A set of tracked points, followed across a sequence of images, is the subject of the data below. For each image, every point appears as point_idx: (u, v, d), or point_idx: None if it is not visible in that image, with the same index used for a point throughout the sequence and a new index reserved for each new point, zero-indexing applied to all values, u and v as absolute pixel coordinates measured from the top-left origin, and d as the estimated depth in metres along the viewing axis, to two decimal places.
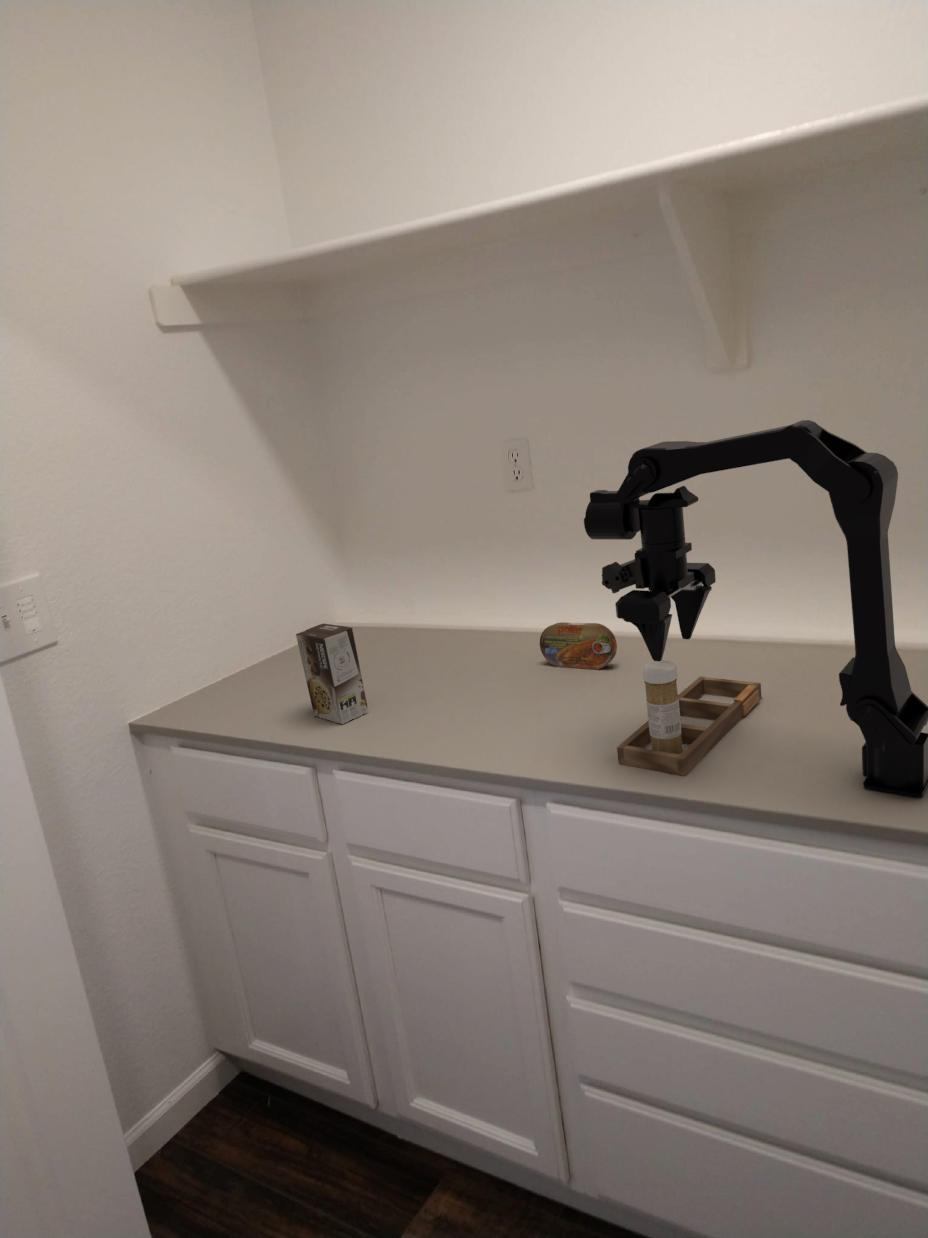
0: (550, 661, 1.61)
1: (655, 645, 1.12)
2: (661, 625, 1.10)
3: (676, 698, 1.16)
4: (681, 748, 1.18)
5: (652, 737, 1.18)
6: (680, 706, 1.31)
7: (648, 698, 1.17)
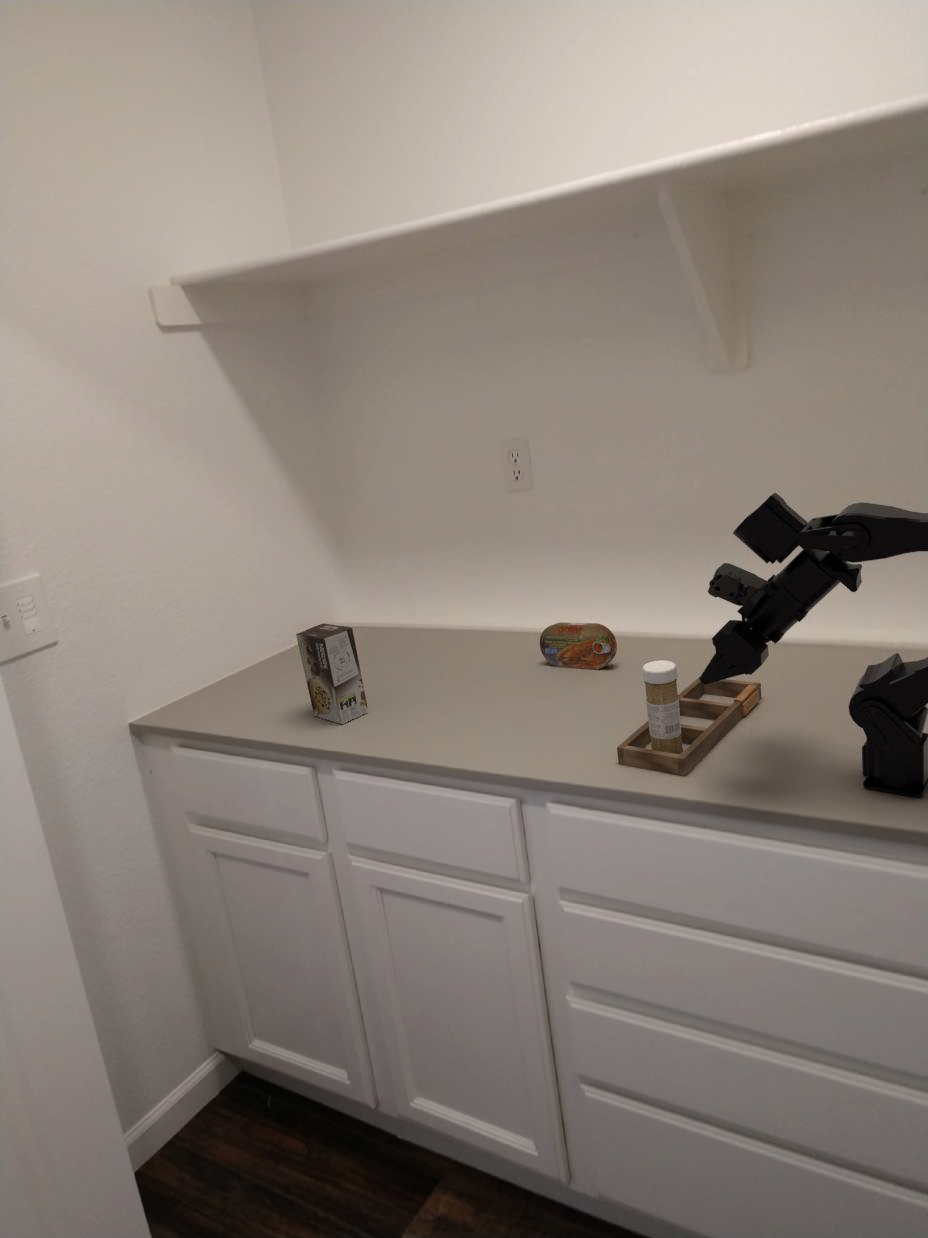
0: (550, 661, 1.61)
1: (715, 674, 1.06)
2: None
3: (676, 698, 1.16)
4: (681, 748, 1.18)
5: (652, 737, 1.18)
6: (680, 706, 1.31)
7: (648, 698, 1.17)
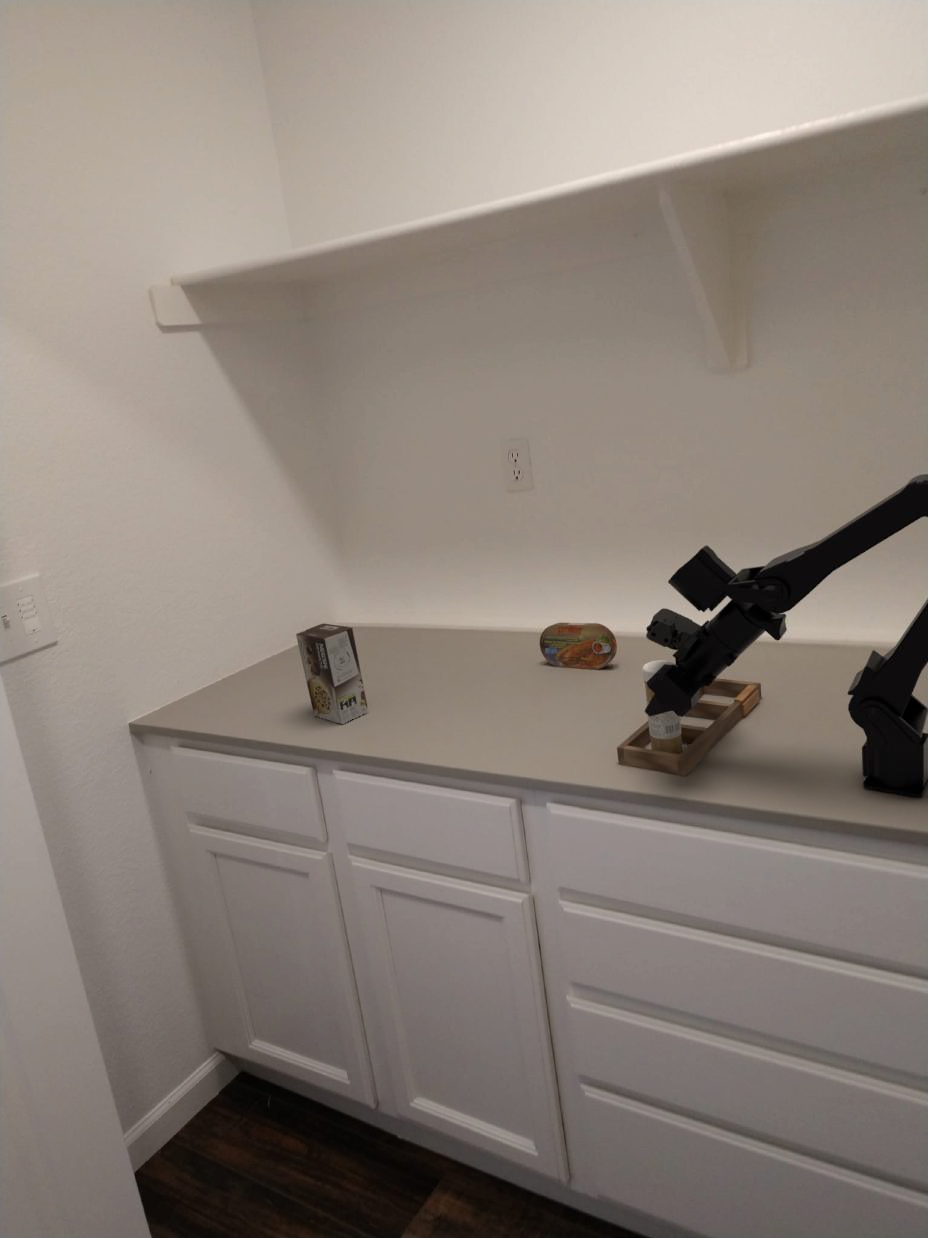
0: (550, 661, 1.61)
1: (658, 707, 1.14)
2: None
3: None
4: (681, 748, 1.18)
5: (652, 737, 1.18)
6: None
7: (648, 698, 1.17)
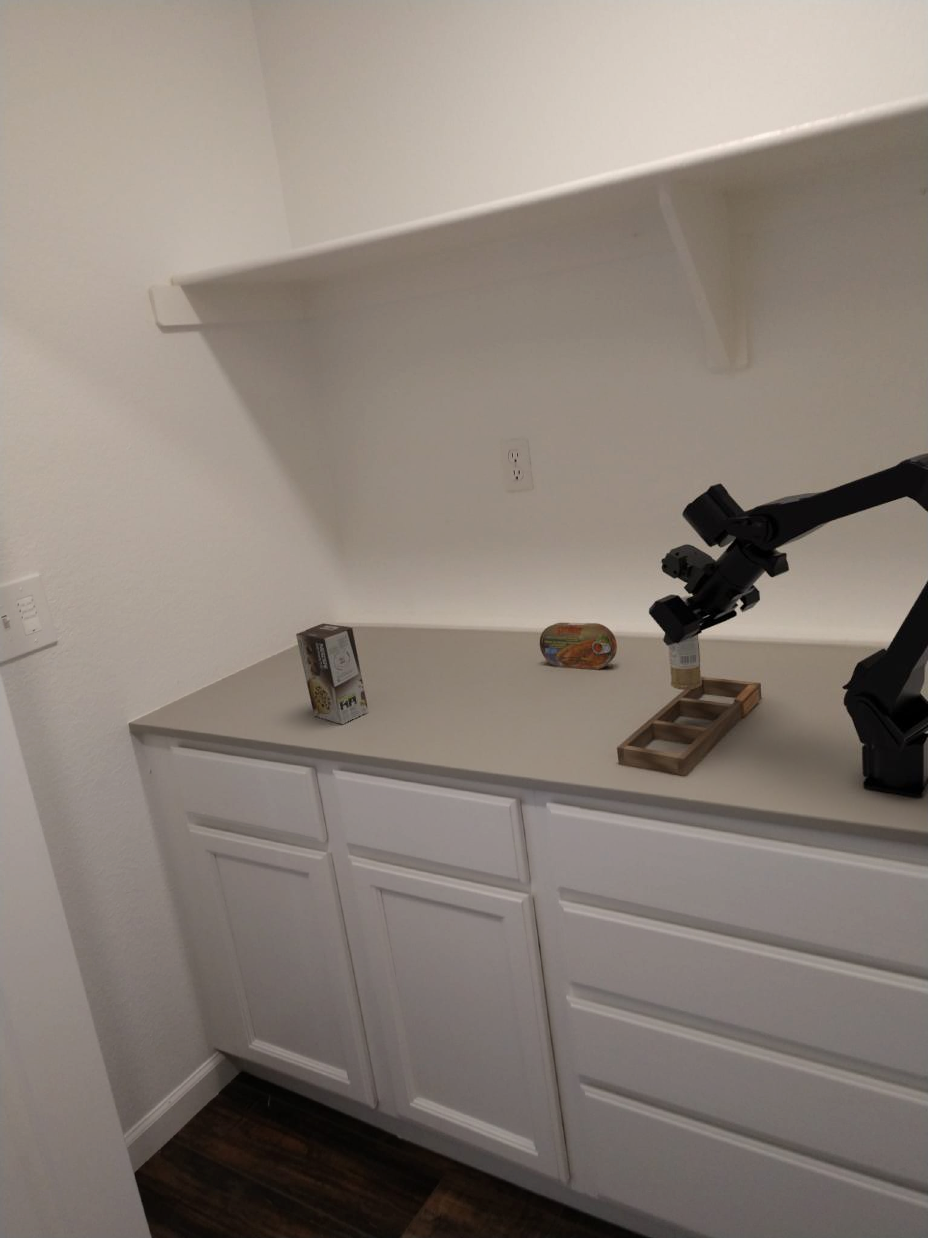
0: (550, 661, 1.61)
1: None
2: None
3: None
4: (698, 680, 1.24)
5: (670, 666, 1.25)
6: (680, 706, 1.31)
7: None
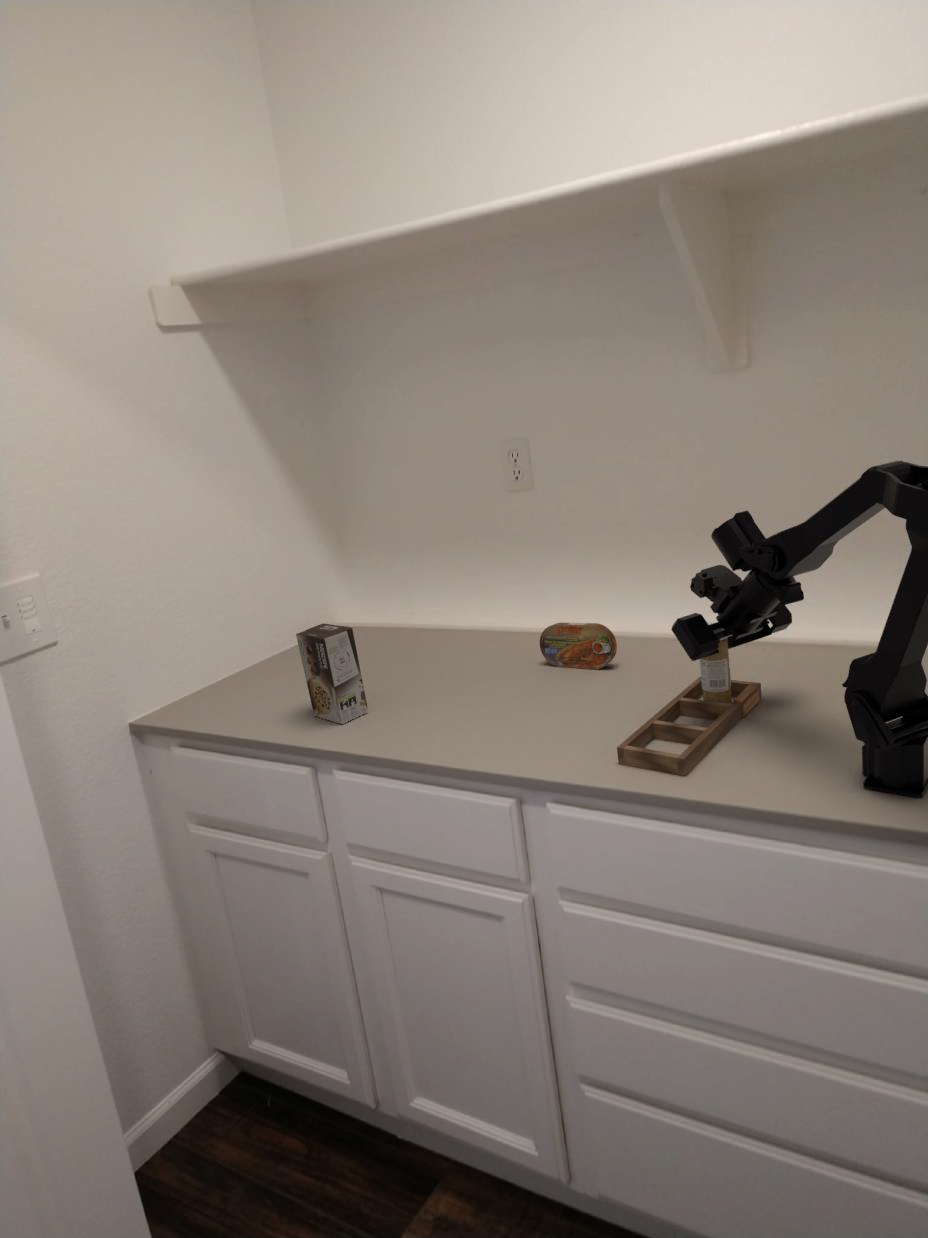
0: (550, 661, 1.61)
1: None
2: None
3: (723, 657, 1.28)
4: None
5: (702, 688, 1.32)
6: (680, 706, 1.31)
7: None
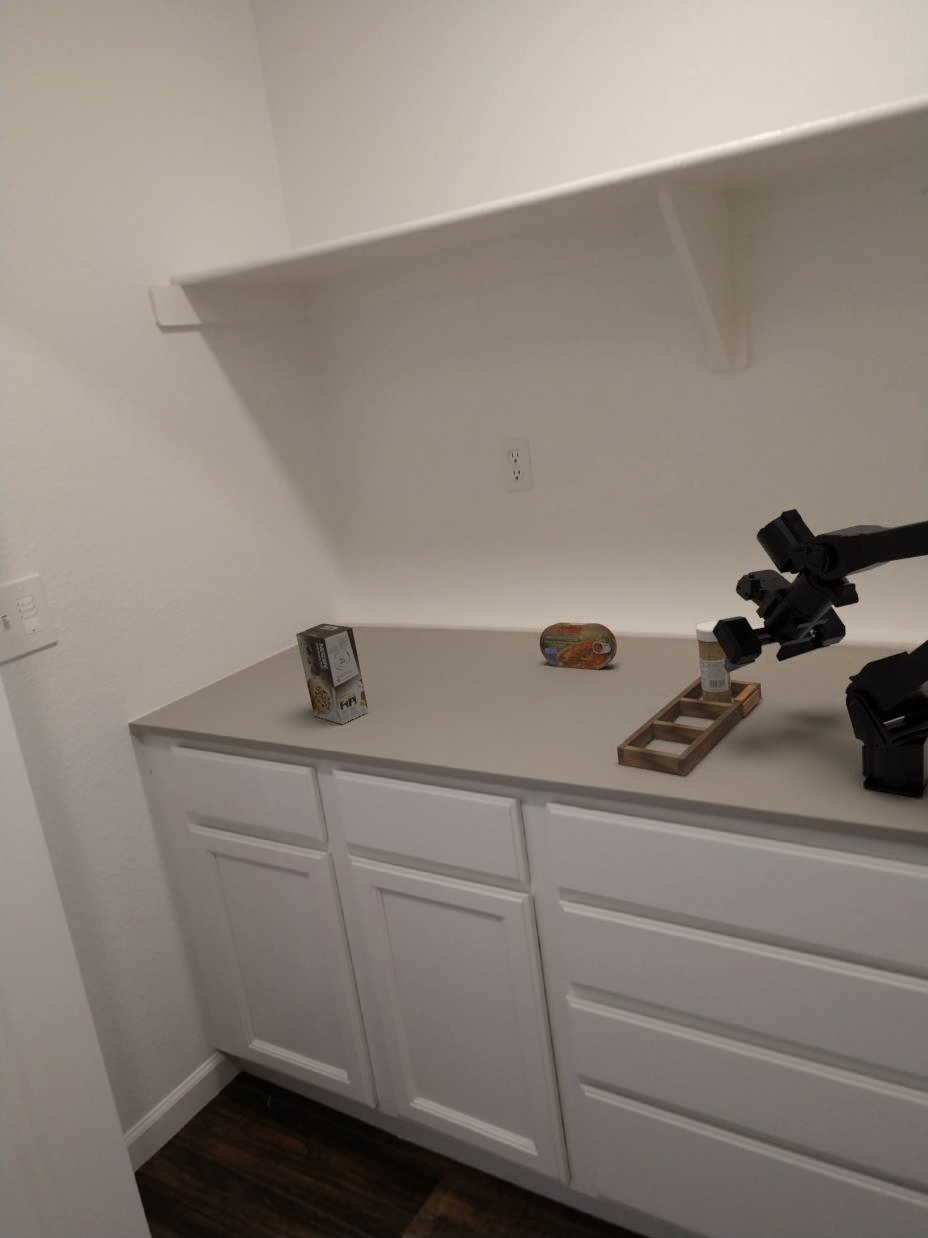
0: (550, 661, 1.61)
1: (730, 663, 1.19)
2: None
3: (722, 657, 1.28)
4: None
5: (702, 688, 1.32)
6: (680, 706, 1.31)
7: (699, 653, 1.30)
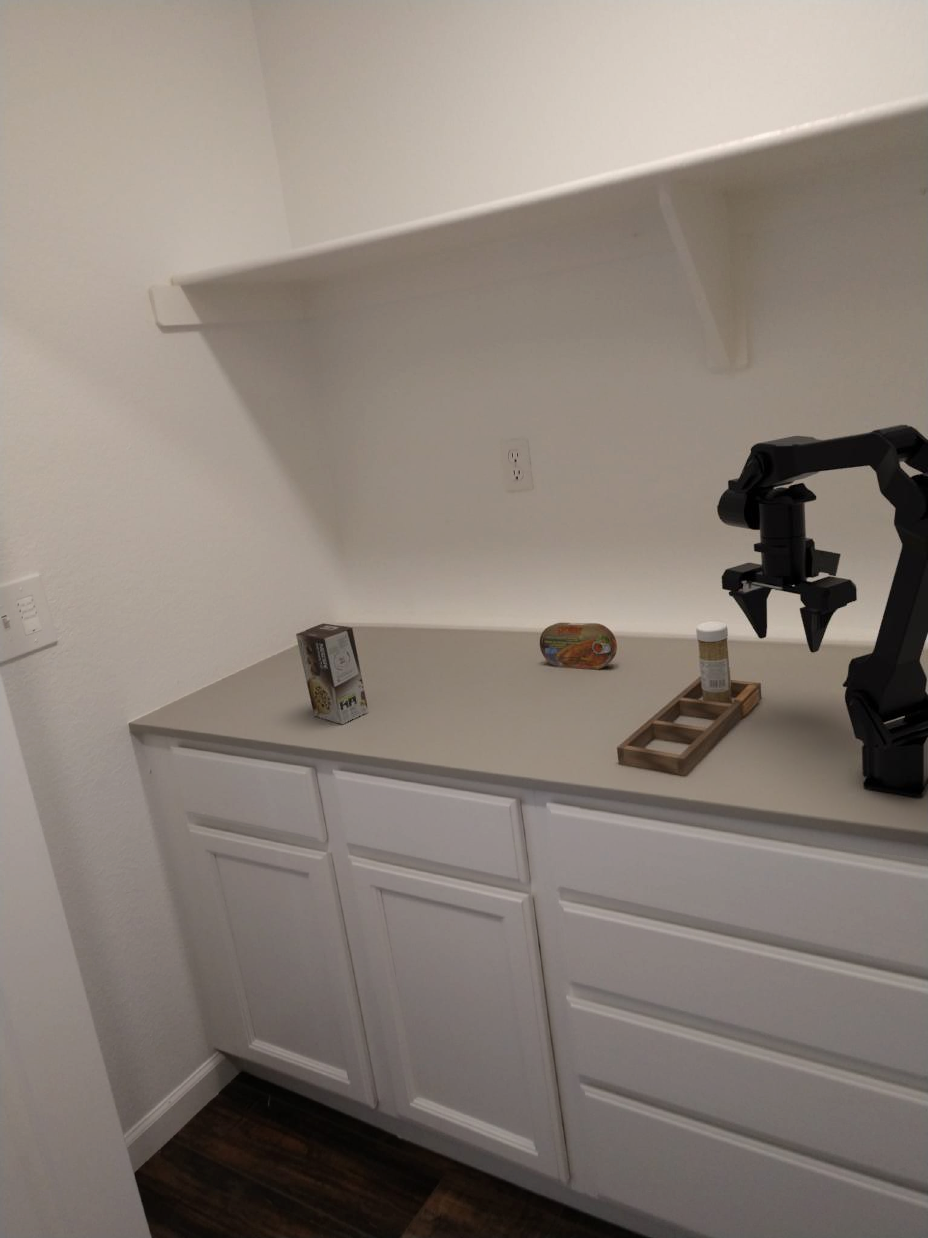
0: (550, 661, 1.61)
1: None
2: None
3: (722, 657, 1.28)
4: None
5: (702, 688, 1.32)
6: (680, 706, 1.31)
7: (699, 653, 1.30)
